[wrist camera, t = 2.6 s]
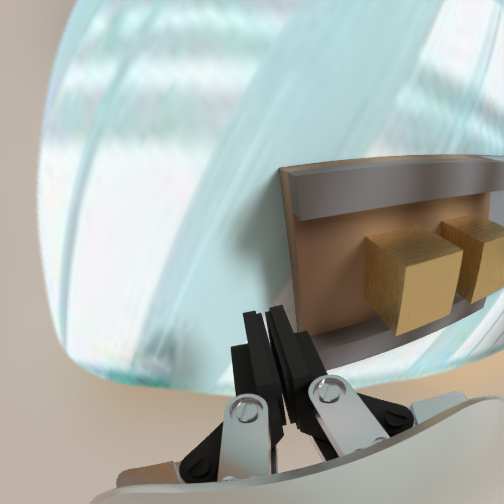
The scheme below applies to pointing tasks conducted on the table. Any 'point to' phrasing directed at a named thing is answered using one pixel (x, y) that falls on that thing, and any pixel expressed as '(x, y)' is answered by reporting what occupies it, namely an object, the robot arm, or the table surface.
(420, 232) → the golden wooden cube
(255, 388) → the robot arm
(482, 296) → the tan cube
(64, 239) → the table surface
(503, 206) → the tray
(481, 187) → the slot block
